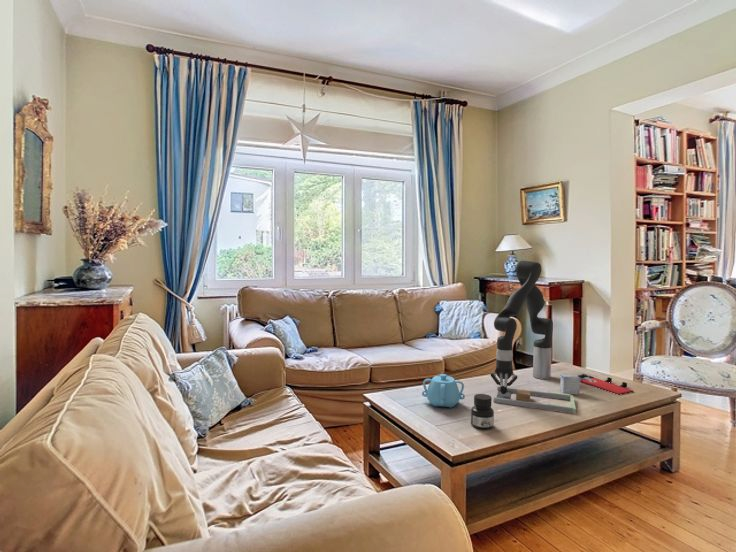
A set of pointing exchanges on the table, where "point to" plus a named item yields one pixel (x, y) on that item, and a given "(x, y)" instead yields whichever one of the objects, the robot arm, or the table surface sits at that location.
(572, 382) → the medicine box
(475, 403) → the ink bottle
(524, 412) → the table surface
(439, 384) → the decorative pot
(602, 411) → the table surface
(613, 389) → the red board with handle
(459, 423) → the table surface
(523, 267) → the robot arm
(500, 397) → the frame
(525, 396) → the walnut block
